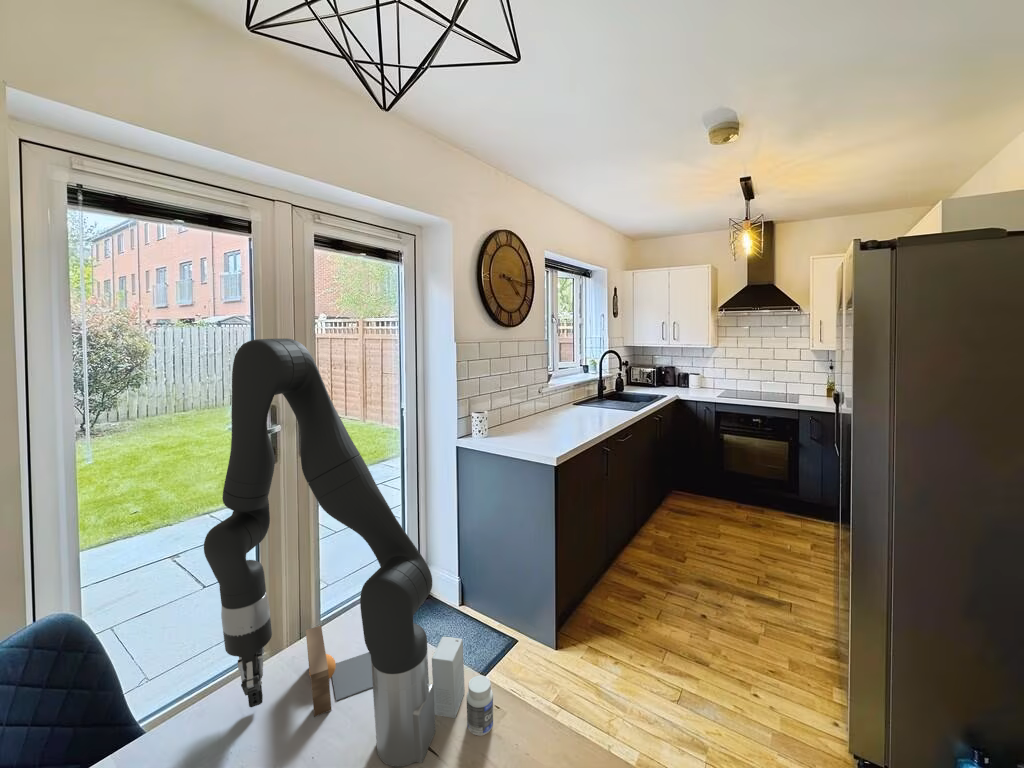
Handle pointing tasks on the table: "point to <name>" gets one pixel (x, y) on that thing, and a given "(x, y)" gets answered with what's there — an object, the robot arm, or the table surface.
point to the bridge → (318, 671)
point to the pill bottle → (479, 705)
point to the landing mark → (352, 676)
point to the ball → (329, 665)
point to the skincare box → (448, 676)
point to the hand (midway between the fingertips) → (256, 702)
